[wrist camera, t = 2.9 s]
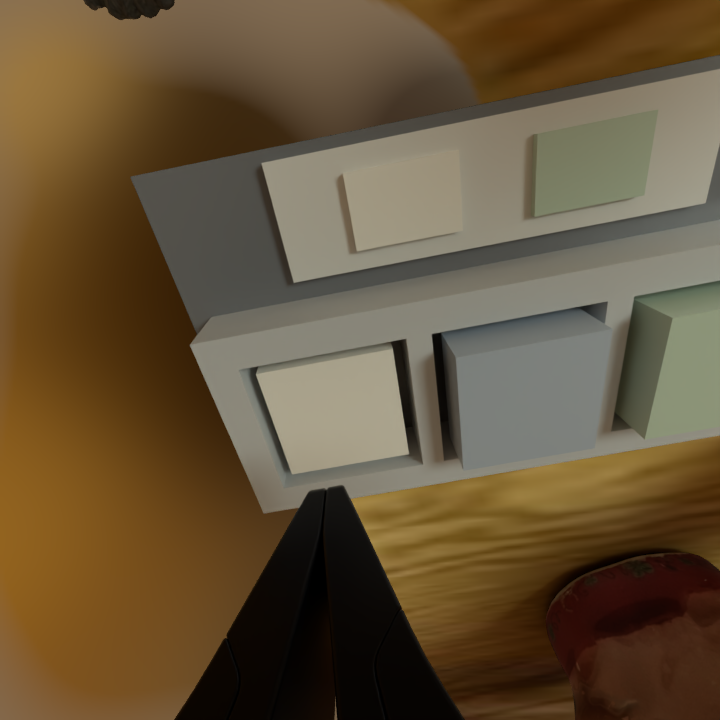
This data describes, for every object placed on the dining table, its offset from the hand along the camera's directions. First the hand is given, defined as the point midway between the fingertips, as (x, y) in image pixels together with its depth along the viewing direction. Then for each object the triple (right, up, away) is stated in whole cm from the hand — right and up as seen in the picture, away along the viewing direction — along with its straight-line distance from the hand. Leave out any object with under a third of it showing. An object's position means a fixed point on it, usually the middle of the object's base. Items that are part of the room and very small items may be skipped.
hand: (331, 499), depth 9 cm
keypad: (+5, +6, +4) cm, 9 cm away
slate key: (+5, +3, +3) cm, 7 cm away
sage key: (+11, +4, +3) cm, 12 cm away
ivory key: (0, +2, +4) cm, 5 cm away
